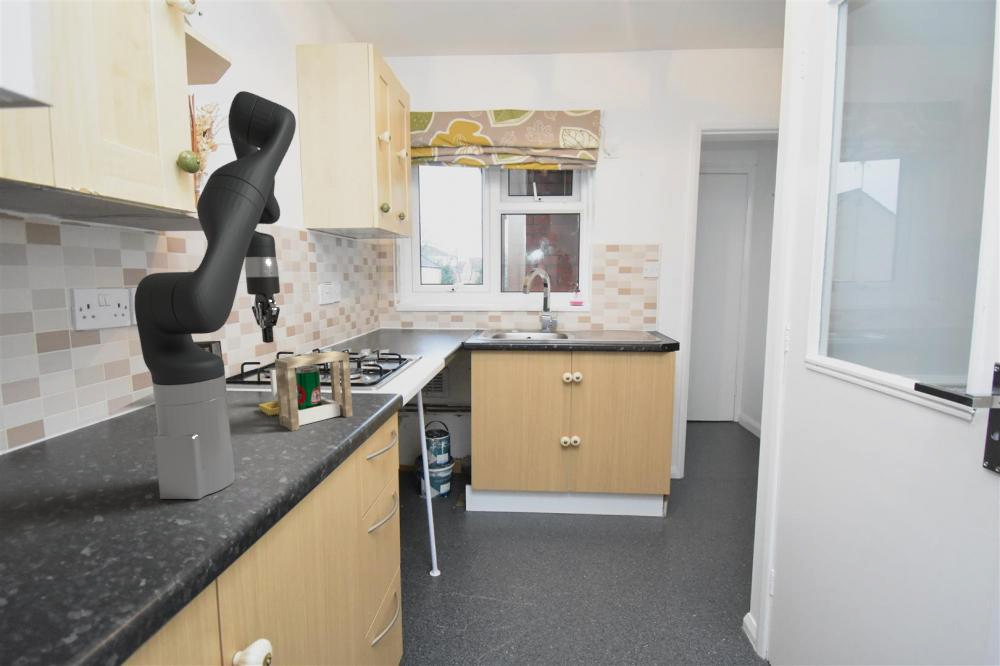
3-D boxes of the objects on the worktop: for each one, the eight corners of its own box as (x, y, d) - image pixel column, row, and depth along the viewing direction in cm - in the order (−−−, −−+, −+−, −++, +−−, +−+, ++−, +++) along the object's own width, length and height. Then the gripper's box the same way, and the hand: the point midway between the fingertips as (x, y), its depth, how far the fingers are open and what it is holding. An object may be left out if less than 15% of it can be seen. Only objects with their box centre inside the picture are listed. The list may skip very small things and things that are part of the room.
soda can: (317, 420, 105) (313, 368, 103) (295, 421, 105) (291, 369, 103) (325, 414, 110) (322, 364, 108) (304, 414, 110) (301, 364, 108)
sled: (297, 426, 101) (294, 385, 99) (260, 407, 115) (257, 372, 114) (340, 415, 108) (337, 377, 107) (299, 399, 123) (297, 366, 121)
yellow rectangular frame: (270, 416, 108) (269, 409, 108) (259, 411, 113) (258, 404, 113) (320, 405, 117) (319, 399, 117) (307, 400, 122) (307, 394, 122)
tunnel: (292, 431, 98) (287, 362, 96) (279, 424, 102) (274, 359, 100) (352, 415, 108) (348, 353, 106) (338, 410, 112) (335, 350, 110)
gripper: (288, 274, 117) (293, 342, 119) (267, 275, 126) (273, 338, 128) (256, 275, 111) (262, 346, 113) (237, 276, 120) (243, 342, 122)
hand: (268, 342), depth 121 cm, fingers closed
